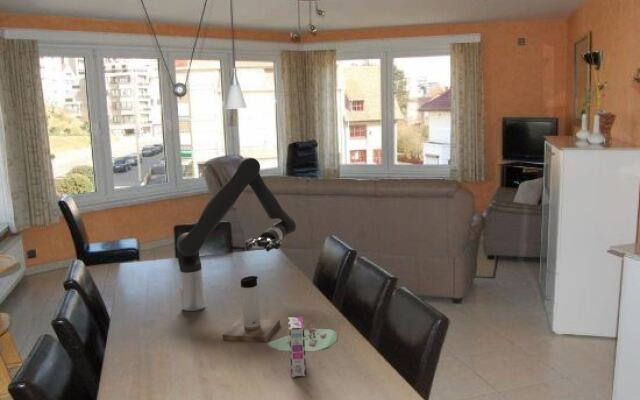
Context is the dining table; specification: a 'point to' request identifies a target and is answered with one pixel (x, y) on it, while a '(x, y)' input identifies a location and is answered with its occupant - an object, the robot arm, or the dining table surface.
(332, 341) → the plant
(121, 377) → the dining table surface
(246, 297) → the travel mug
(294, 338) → the candy bar box
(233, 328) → the walnut board
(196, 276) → the robot arm
